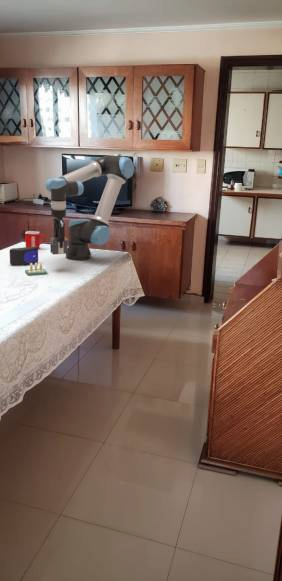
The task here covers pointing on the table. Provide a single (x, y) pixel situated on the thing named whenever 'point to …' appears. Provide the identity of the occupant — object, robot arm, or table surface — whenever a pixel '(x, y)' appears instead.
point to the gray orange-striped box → (55, 245)
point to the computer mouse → (23, 256)
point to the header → (36, 270)
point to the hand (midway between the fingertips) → (59, 252)
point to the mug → (33, 239)
